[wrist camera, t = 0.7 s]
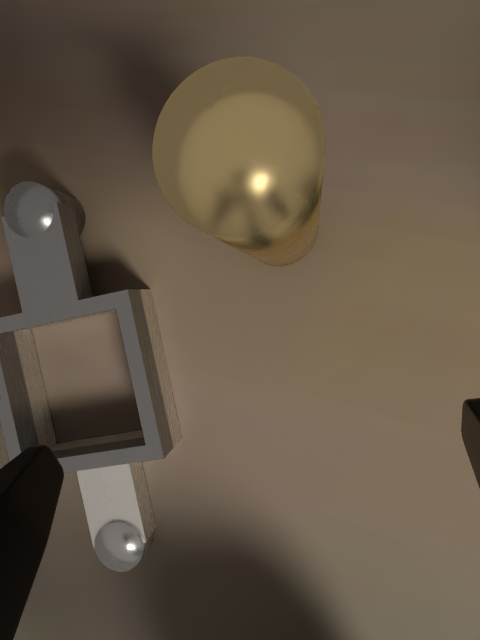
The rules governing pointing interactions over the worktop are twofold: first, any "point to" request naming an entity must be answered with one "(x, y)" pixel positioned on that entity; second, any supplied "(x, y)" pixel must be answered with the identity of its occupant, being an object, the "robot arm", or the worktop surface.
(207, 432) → the worktop surface
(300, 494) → the worktop surface
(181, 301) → the worktop surface
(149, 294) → the ball-tipped frame bar
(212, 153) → the brass pin
